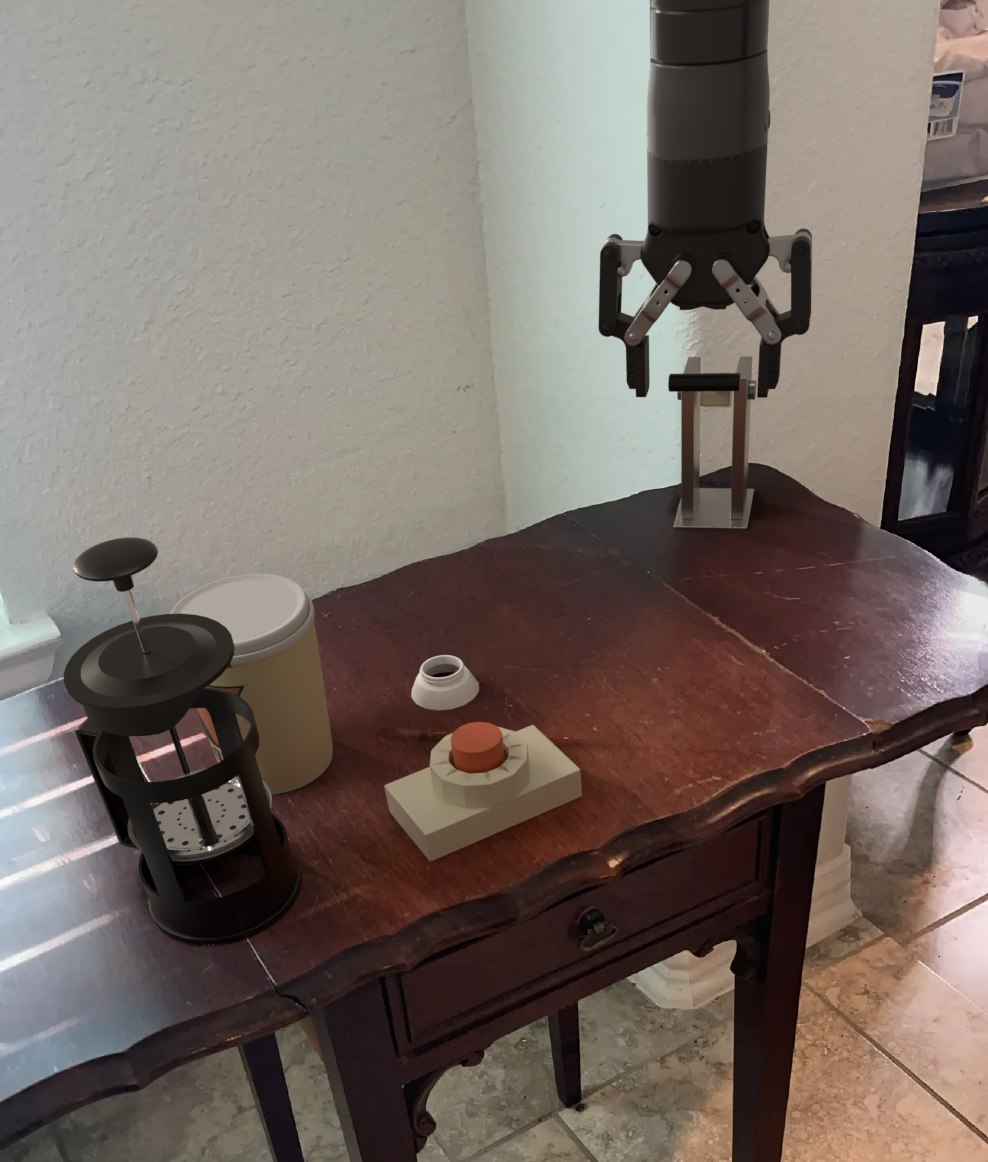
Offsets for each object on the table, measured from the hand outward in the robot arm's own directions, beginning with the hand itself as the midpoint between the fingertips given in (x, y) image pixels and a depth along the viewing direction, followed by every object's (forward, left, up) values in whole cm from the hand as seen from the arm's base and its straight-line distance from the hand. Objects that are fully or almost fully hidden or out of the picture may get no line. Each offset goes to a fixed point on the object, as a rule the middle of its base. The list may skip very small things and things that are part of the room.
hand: (702, 393), depth 90 cm
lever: (0, -4, -3) cm, 5 cm away
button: (+10, +30, -11) cm, 33 cm away
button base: (+10, +30, -15) cm, 35 cm away
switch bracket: (0, -9, -15) cm, 17 cm away
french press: (+25, +40, -15) cm, 49 cm away
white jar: (+16, +19, -15) cm, 29 cm away
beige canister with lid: (+26, +27, -15) cm, 40 cm away
